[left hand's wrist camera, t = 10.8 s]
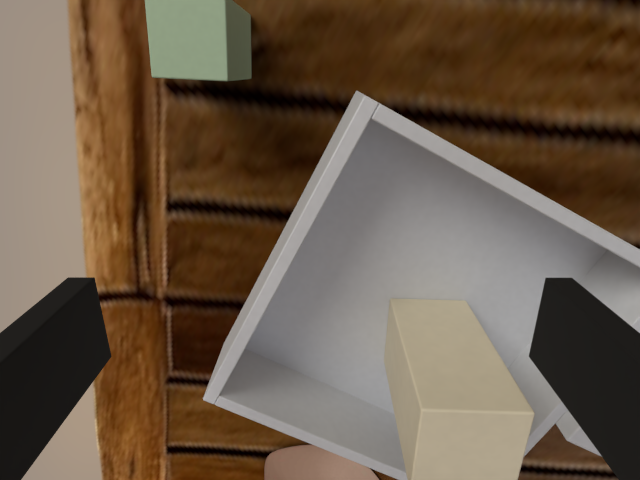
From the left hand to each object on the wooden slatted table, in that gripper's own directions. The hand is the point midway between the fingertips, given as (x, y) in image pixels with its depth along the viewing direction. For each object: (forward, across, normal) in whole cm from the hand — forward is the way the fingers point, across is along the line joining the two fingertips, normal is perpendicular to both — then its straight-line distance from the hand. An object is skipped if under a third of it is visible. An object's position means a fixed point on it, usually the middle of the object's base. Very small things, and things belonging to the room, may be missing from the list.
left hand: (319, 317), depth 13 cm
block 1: (+21, +7, -8) cm, 24 cm away
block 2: (+9, -6, +6) cm, 12 cm away
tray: (+9, -11, +7) cm, 16 cm away
